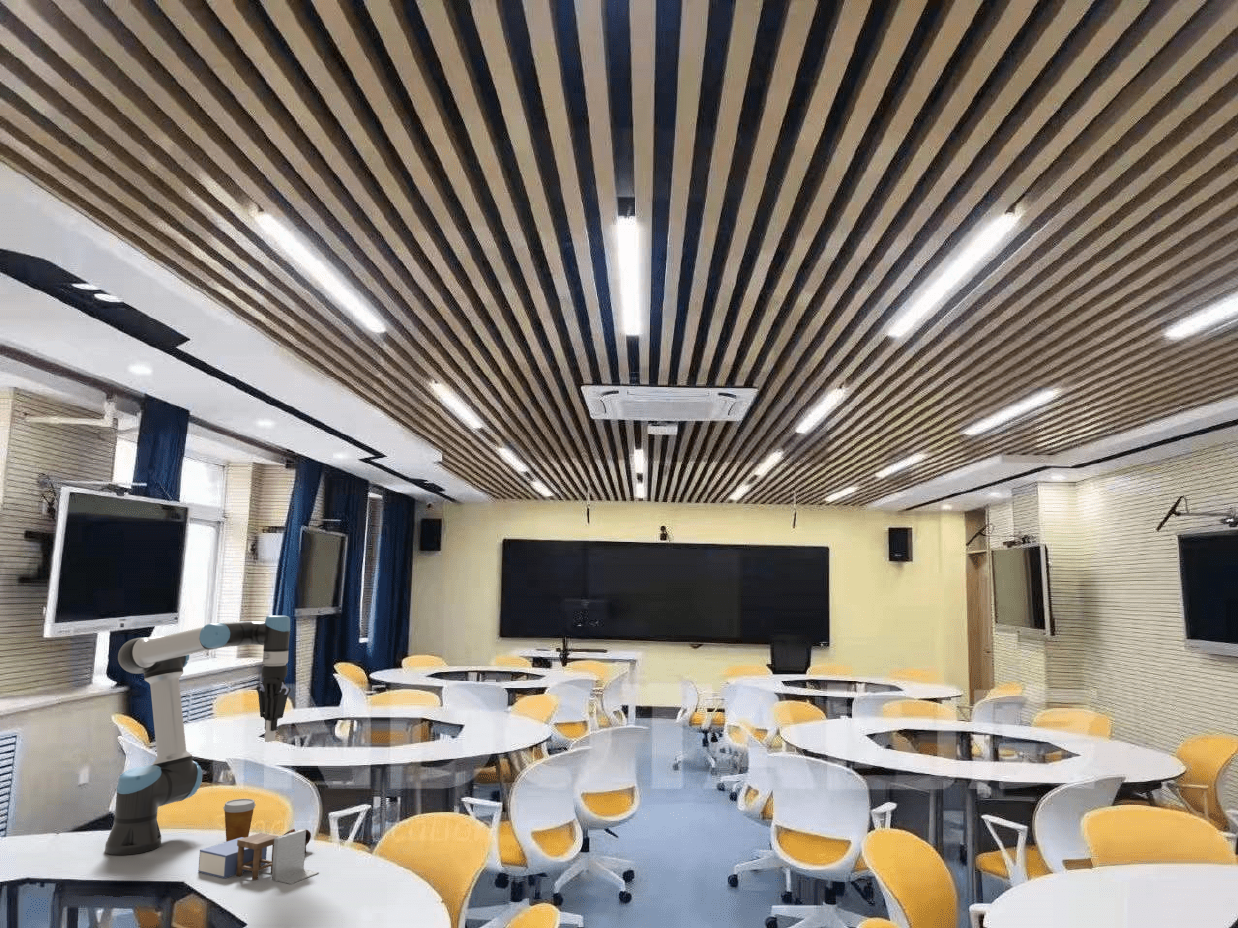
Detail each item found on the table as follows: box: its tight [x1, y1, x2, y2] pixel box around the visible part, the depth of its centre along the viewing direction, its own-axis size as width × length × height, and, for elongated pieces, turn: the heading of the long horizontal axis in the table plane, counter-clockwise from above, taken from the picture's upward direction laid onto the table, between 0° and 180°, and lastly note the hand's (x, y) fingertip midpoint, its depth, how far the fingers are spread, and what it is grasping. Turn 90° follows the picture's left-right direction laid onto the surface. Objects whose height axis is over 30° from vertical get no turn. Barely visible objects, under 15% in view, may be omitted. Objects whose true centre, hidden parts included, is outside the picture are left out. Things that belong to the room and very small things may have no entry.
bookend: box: [271, 828, 320, 885], centre depth 237 cm, size 8×10×11 cm
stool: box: [235, 832, 280, 881], centre depth 239 cm, size 10×8×8 cm
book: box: [198, 837, 268, 879], centre depth 243 cm, size 11×14×6 cm
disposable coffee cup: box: [222, 798, 256, 842], centre depth 269 cm, size 10×10×12 cm
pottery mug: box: [281, 828, 312, 855], centre depth 257 cm, size 12×10×8 cm
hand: (269, 741), depth 265 cm, fingers closed
